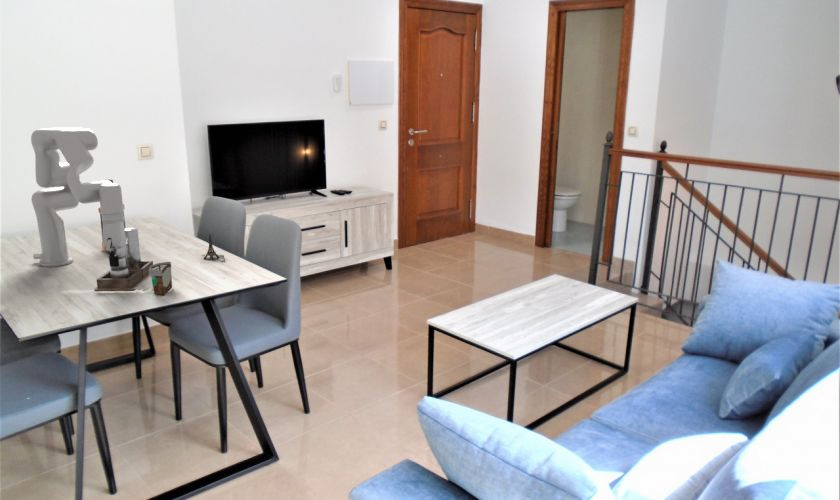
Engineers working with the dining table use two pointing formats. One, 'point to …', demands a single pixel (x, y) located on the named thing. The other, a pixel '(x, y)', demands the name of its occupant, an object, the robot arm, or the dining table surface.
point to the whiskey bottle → (102, 222)
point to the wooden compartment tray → (124, 279)
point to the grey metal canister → (132, 249)
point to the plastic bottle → (120, 263)
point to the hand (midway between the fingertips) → (118, 263)
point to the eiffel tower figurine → (212, 254)
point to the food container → (161, 278)
